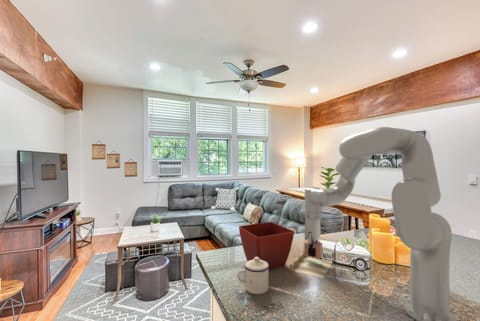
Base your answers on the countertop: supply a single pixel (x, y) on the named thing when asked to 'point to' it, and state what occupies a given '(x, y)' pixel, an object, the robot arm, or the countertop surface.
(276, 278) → the countertop surface
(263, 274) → the teacup with lid
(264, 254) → the plant pot
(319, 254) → the rust block
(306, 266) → the cream flat slab
